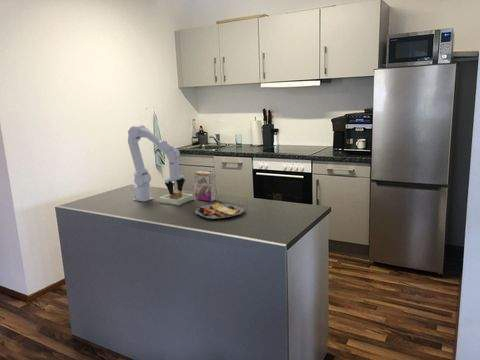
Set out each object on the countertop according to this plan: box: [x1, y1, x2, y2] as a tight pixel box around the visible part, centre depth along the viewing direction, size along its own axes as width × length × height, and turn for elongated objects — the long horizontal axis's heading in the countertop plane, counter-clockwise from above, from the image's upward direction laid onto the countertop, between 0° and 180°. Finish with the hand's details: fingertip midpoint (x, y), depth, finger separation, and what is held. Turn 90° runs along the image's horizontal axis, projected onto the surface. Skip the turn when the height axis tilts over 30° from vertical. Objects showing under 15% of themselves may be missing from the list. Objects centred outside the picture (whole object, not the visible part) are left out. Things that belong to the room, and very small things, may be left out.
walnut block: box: [169, 190, 183, 200], centre depth 232 cm, size 5×5×5 cm
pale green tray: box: [158, 192, 194, 206], centre depth 232 cm, size 14×14×3 cm
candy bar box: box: [194, 170, 217, 202], centre depth 232 cm, size 11×5×16 cm, turn 58°
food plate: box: [194, 201, 245, 219], centre depth 205 cm, size 25×23×4 cm
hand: (175, 192), depth 232 cm, fingers open, 7 cm apart
